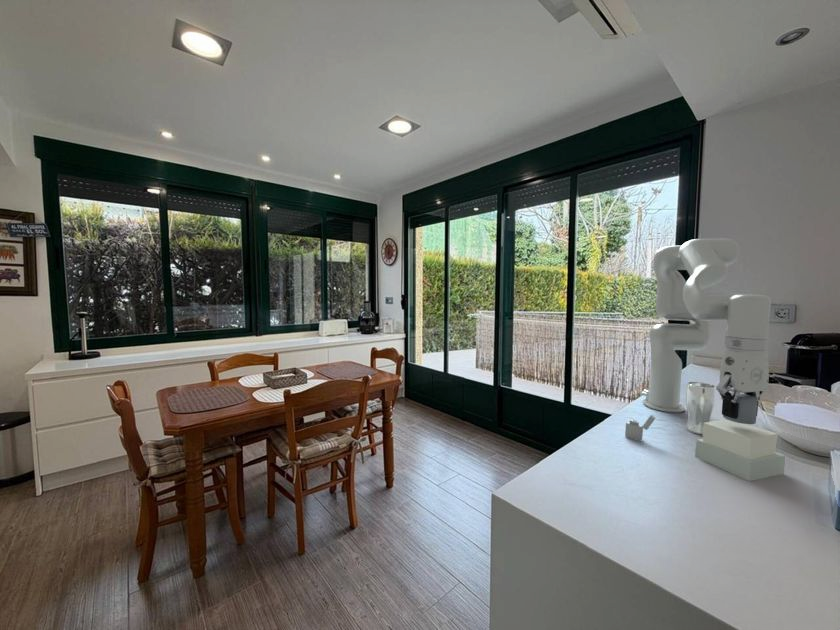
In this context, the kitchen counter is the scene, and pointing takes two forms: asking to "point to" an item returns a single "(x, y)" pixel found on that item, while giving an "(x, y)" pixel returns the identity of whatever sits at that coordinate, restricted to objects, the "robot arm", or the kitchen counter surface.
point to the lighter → (637, 428)
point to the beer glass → (699, 405)
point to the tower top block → (740, 438)
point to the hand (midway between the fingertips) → (739, 415)
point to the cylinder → (745, 409)
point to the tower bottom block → (741, 462)
